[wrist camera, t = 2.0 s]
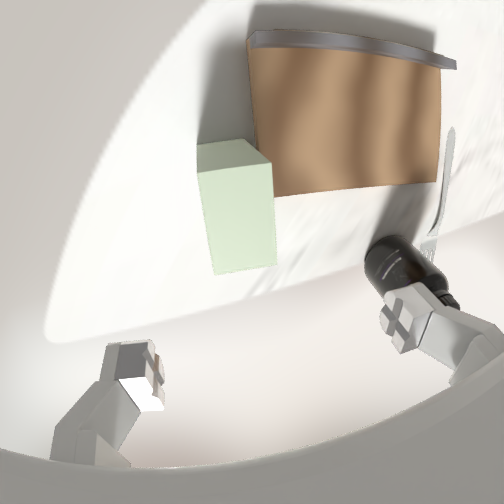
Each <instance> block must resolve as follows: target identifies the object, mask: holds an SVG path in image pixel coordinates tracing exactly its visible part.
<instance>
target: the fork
mask: <svg viewBox="0 0 504 504" xmlns="http://www.w3.org/2000/svg"><path fill="white" fill-rule="evenodd" d="M454 146H455V130H454V128H453V127H451V129H450V131H449V133H448V137H447V143H446V153H445V163H444V178H443V192H442V201H441V209H440V215H439V218H438V221H437V223H436V225H435V226H434V228H433V229H432V230H431V231H430V232H429V233H428V235H427V236H437V233H438V229H439V226H440V224H441V221H442V218H443V214H444V209H445V203H446V196H447V191H448V185H449V179H450V173H451V167H452V160H453V153H454ZM436 243H437V237H435V238H433V239H431V240H427V241H425V242H423V243H421V245H420V252H421V253H422V252H423V255H424V256H425V257H426V253H427V251H428V257H427V259H428V260H429V258H430V254H431V251H432V258H431V262H432V263H433V258H434V253H435V248H436Z"/></svg>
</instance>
